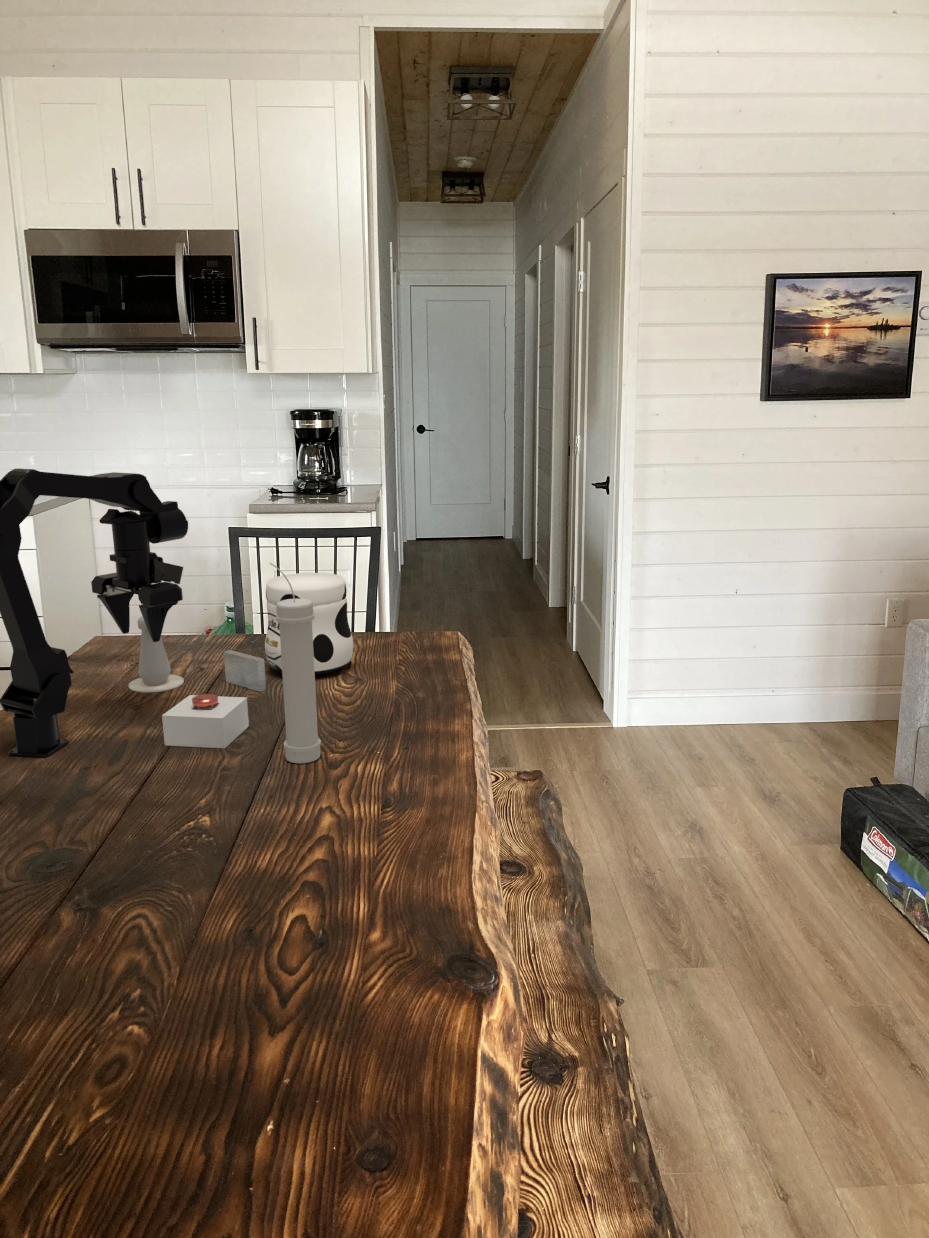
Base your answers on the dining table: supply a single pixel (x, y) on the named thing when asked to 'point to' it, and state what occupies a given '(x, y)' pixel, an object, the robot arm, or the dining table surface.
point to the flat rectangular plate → (245, 670)
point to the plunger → (205, 701)
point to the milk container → (327, 625)
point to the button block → (205, 723)
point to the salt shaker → (152, 658)
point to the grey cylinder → (298, 679)
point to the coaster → (171, 683)
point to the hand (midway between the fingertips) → (140, 637)
